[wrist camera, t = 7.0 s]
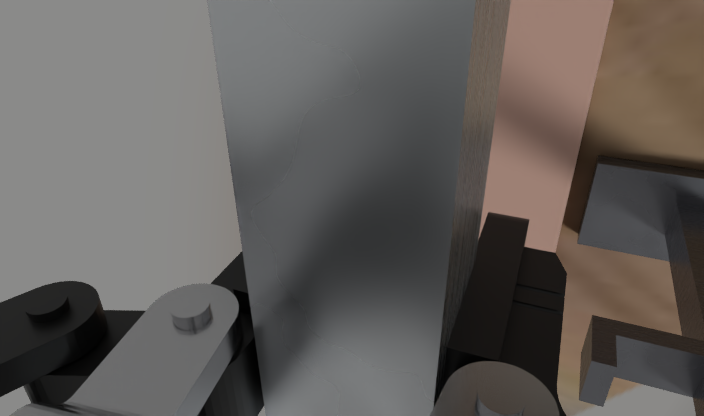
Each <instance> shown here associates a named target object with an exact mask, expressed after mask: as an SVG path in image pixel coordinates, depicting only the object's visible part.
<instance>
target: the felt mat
mask: <svg viewBox="0 0 704 416" xmlns="http://www.w3.org/2000/svg"><path fill="white" fill-rule="evenodd" d="M613 2H614V0H511V4H510V11H509V19H508V26H507V33H506V41H505V48H504V55H503V63H502V70H501V77H500V85H499V92H498V99H497V107H496V114H495V121H494V129H493V136H492V143H491V151H490V158H489V166H488V173H487V180H486V188H485V195H484V202H483V210H482V217H481V224H480V232H479V237H480V234H481V232H482V229H483V226H484V223H485V220H486V217H487V214H488V212H492V213H498V214H503V215H509V216H514V217H520V218H525V219H530V220H529V225H528V231H527V236H526V241H525V246H524V247H528V248H533V249H538V250H543V251H548V252H553V253H555V252H556V247H557V243H558V239H559V234H560V230H561V226H562V222H563V217H564V213H565V209H566V204H567V200H568V196H569V191H570V187H571V183H572V178H573V174H574V170H575V165H576V161H577V157H578V153H579V148H580V144H581V140H582V135H583V131H584V127H585V122H586V118H587V114H588V109H589V105H590V101H591V96H592V92H593V88H594V84H595V79H596V75H597V71H598V66H599V62H600V58H601V53H602V49H603V45H604V40H605V36H606V32H607V27H608V23H609V19H610V14H611V10H612V6H613ZM478 240H479V239H478Z"/></svg>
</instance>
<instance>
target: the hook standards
mask: <svg viewBox="0 0 704 416" xmlns="http://www.w3.org/2000/svg"><path fill="white" fill-rule="evenodd" d="M577 244H583V245H588V246H593V247H598V248H603V249H608V250H614V251H619V252H624V253H629V254H634V255H639V256H644V257H650V258H655V259H660V260H665V261H669V262H670V267H671V273H672V279H673V285H674V291H675V296H676V302H677V308H678V314H679V319H680V325H681V331H682V336H680V335H676V334H672V333H667V332H663V331H659V330H654V329H650V328H646V327H642V326H637V325H633V324H629V323H624V322H620V321H616V320H611V319H607V318H603V317H598V316H594V315H592V318H591V322H590V325H589V328H588V332H587V335H586V338H585V342H584V345H583V349H582V352H581V367H580V388H579V400H580V401H584V402H588V403H591V404H595V405H598V406H602V407H603V406H604V403H605V400H606V397H607V394H608V391H609V389H610V386H611V383H612V380H613V377H617V378H621V379H625V380H629V381H632V382H636V383H640V384H644V385H648V386H651V387H655V388H659V389H663V390H667V391H670V392H674V393H678V394H682V395H686V396H689V397H693V400H694V406H695V411H696V416H704V171H703V170H696V169H689V168H682V167H675V166H668V165H661V164H654V163H647V162H640V161H633V160H626V159H620V158H613V157H606V156H599V155H598V158H597V162H596V166H595V169H594V173H593V177H592V181H591V185H590V189H589V193H588V197H587V201H586V205H585V209H584V213H583V217H582V221H581V225H580V229H579V233H578V243H577Z"/></svg>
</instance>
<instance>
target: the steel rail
mask: <svg viewBox="0 0 704 416" xmlns="http://www.w3.org/2000/svg"><path fill="white" fill-rule="evenodd" d="M207 3H208V10H209V17H210V24H211V31H212V38H213V45H214V53H215V60H216V67H217V74H218V81H219V88H220V95H221V102H222V109H223V117H224V124H225V131H226V137H227V145H228V152H229V159H230V166H231V173H232V180H233V187H234V195H235V202H236V208H237V216H238V222H239V230H240V237H241V244H242V251H243V258H244V265H245V272H246V280H247V287H248V294H249V301H250V308H251V315H252V322H253V329H254V336H255V343H256V350H257V357H258V365H259V372H260V379H261V386H262V393H263V400H264V407H265V414H266V416H430V414H431V412H432V410H433V408H434V406H435V404H436V402H437V400H438V398H439V396H440V394H441V392H442V384H443V375H444V367H445V358H446V349H447V345H448V342H449V339H450V336H451V333H452V330H453V327H454V324H455V321H456V318H457V315H458V312H459V309H460V306H461V303H462V300H463V297H464V294H465V290H466V287H467V284H468V281H469V278H470V275H471V272H472V269H473V266H474V263H475V260H476V254H477V246H478V239H479V232H480V224H481V217H482V210H483V202H484V195H485V188H486V180H487V173H488V166H489V158H490V151H491V143H492V136H493V129H494V121H495V114H496V107H497V99H498V92H499V85H500V77H501V70H502V63H503V55H504V48H505V41H506V33H507V26H508V19H509V11H510V4H511V0H207Z"/></svg>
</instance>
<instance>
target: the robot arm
mask: <svg viewBox="0 0 704 416" xmlns="http://www.w3.org/2000/svg"><path fill="white" fill-rule="evenodd" d="M529 220H530V219H525V218H520V217H514V216H509V215H503V214H498V213H492V212H488V214H487V217H486V220H485V223H484V226H483V229H482V232H481V234H480V237H479V240H478V246H477V254H476V260H475V263H474V266H473V269H472V272H471V275H470V278H469V281H468V284H467V287H466V290H465V294H464V297H463V300H462V303H461V306H460V309H459V312H458V315H457V318H456V321H455V324H454V327H453V330H452V333H451V336H450V339H449V342H448V345H447V349H446V358H445V367H444V375H443V384H442V392H441V394H440V396H439V398H438V400H437V402H436V404H435V406H434V408H433V410H432V412H431V414H430V416H566V414H565V413H564V411H563V409H562V407H561V404H560V402H559V399H558V394H557V376H558V365H559V354H560V343H561V332H562V321H563V310H564V296H565V287H566V276H567V273H566V271H565V269H564V267H563V266H562V264H561V262H560V260H559V258H558V257H557V255H556V253H553V252H548V251H543V250H538V249H533V248H528V247H524V246H525V241H526V236H527V231H528V225H529ZM22 386H24V388H25V391H26V392H27V395H28V397H29V399H30V401H31V404H28V405H25V406H24V407H22V408H20V409H18V410H17V411H15V412H14V413H13V414H12V415H10V416H258V414H259V412H260V411H261V409H262V408H263V406H264V400H263V393H262V386H261V379H260V372H259V365H258V357H257V350H256V343H255V336H254V329H253V322H252V315H251V308H250V301H249V294H248V287H247V280H246V272H245V265H244V258H243V251H242V252H241V253H240V254H239V255H238V256H237V257H236V258H235V259H234V260H233V261H232V262H231V263H230V264H229V265H228V266H227V267H226V268H225V269H224V271H223V272H222V273H221V274H220V275H219V276H218V277H217V278H216V279H215V280H214V281H213V282H212V283H211V284H192V285H187V286H183V287H180V288H177V289H174V290H172V291H170V292H168V293H166V294H164V295H163V296H161V297H160V298H158V299H157V300H156V301H155V302H154V303H153V304H152V305H151V306H150V307H149V308H148V309H147V310H146V311H120V310H119V311H117V310H116V311H115V310H103V307H102V304H101V301H100V298H99V295H98V293H97V291H96V290H95V289H94V288H93V287H92V286H90V285H89V284H86V283H83V282H77V281H64V282H57V283H52V284H48V285H44V286H41V287H39V288H36V289H33V290H31V291H28V292H26V293H24V294H21V295H18V296H16V297H13V298H11V299H8V300H6V301H4V302H1V303H0V397H1V396H3V395H5V394H7V393H9V392H11V391H13V390H15V389H17V388H19V387H22Z"/></svg>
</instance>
